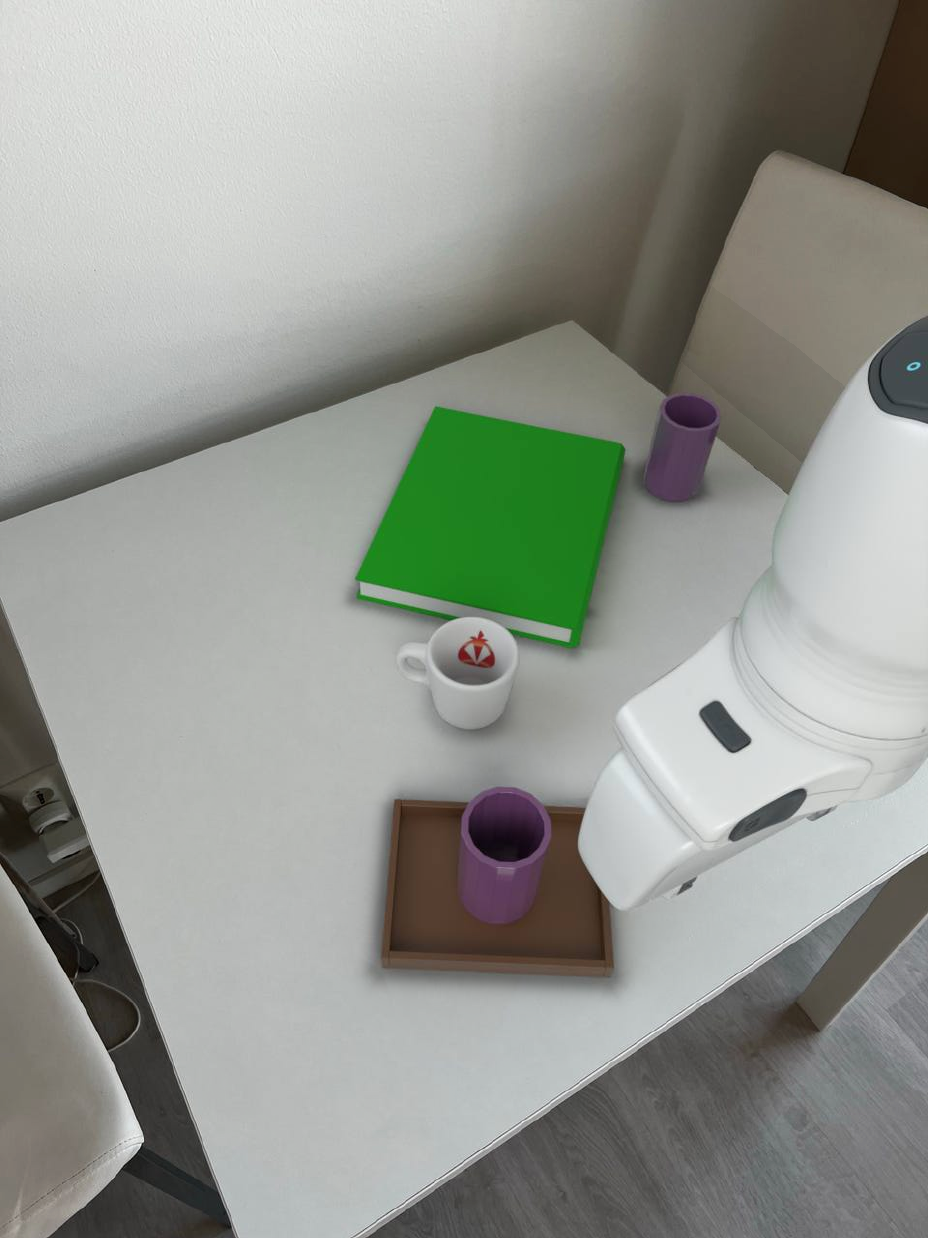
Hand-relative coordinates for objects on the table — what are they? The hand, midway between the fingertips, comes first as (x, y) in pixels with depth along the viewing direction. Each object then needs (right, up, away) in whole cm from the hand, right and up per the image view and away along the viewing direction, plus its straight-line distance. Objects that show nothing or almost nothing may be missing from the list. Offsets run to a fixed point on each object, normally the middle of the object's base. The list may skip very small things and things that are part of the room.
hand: (741, 842), depth 49 cm
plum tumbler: (-12, -10, +26) cm, 30 cm away
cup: (-15, +4, +38) cm, 41 cm away
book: (-11, +21, +53) cm, 58 cm away
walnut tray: (-12, -10, +26) cm, 30 cm away
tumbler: (+9, +27, +58) cm, 65 cm away
